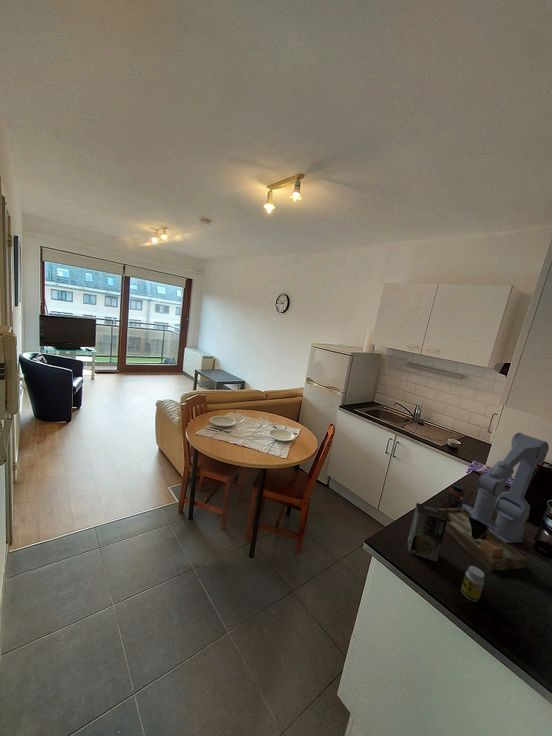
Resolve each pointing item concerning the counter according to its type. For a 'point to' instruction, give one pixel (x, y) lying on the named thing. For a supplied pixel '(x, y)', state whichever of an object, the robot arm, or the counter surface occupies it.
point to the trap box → (463, 535)
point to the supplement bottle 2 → (473, 583)
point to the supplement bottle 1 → (455, 497)
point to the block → (492, 548)
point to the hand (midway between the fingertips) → (475, 537)
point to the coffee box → (427, 532)
